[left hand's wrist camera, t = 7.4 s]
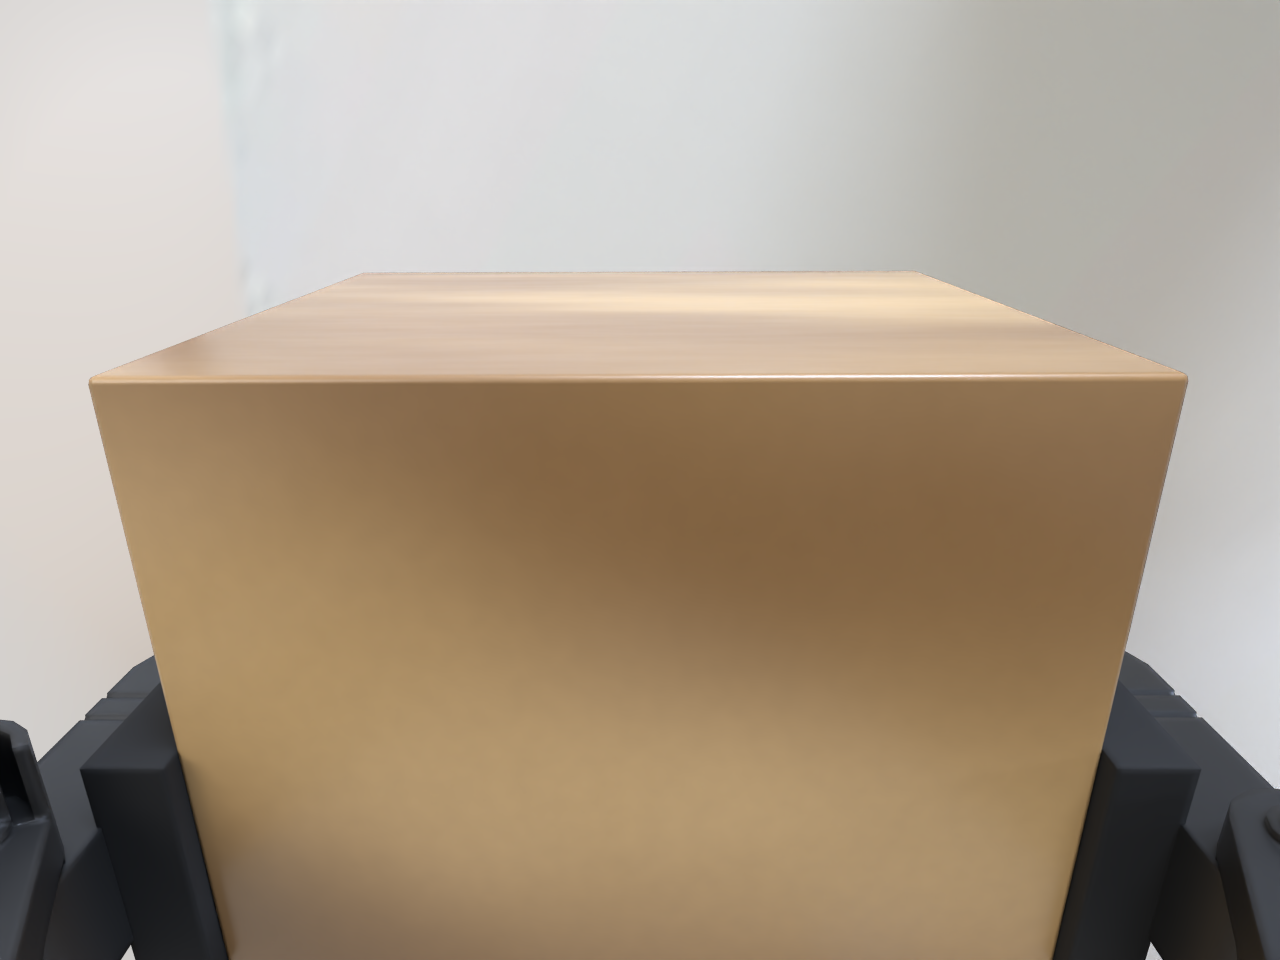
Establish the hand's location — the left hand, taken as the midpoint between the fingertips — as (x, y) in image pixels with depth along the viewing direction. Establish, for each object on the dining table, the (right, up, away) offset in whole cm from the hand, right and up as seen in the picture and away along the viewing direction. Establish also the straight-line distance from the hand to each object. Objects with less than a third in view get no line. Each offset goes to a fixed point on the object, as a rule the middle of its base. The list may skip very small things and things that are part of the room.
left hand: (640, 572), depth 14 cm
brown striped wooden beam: (0, -23, +9) cm, 25 cm away
